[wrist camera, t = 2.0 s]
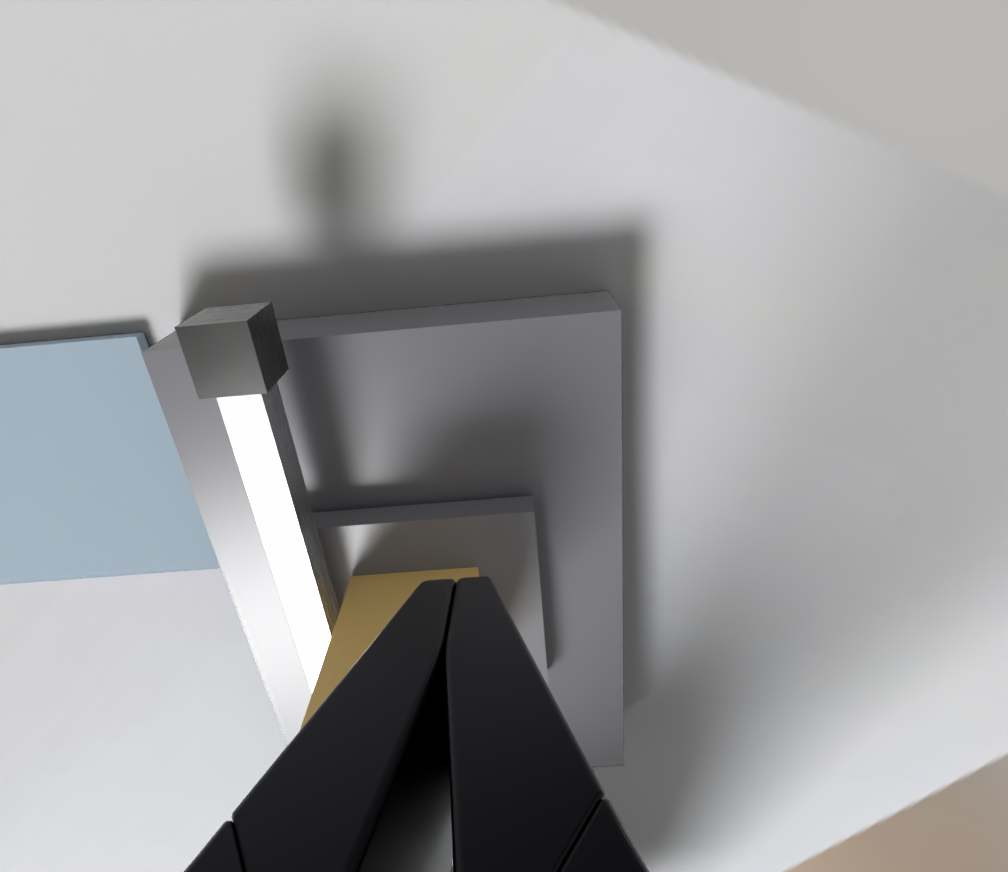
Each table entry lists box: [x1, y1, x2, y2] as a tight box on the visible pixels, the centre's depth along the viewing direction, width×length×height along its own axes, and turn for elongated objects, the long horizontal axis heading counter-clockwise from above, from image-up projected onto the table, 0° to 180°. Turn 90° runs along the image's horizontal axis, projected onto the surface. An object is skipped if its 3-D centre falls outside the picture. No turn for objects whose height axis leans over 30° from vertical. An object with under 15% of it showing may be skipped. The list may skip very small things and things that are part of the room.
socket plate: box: [141, 290, 624, 767], centre depth 20 cm, size 17×12×2 cm
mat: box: [0, 332, 221, 585], centre depth 19 cm, size 8×8×1 cm
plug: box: [300, 496, 549, 730], centre depth 17 cm, size 7×7×8 cm
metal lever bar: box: [175, 302, 340, 692], centre depth 18 cm, size 18×2×2 cm, turn 5°
